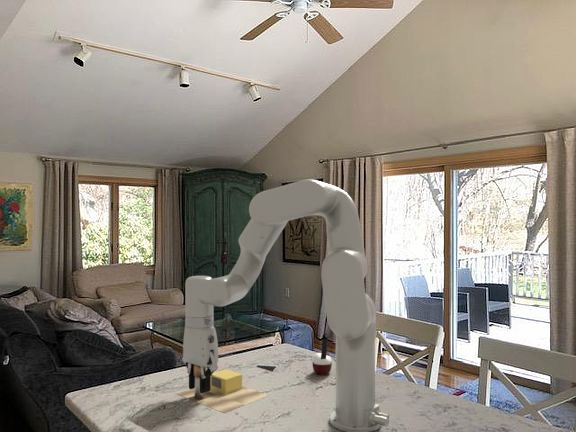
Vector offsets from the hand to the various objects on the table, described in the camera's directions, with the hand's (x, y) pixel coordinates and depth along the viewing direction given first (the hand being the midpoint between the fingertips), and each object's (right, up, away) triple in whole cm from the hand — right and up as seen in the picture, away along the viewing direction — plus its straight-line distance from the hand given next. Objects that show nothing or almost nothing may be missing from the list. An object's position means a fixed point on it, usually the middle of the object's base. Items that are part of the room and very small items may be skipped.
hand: (199, 389), depth 126 cm
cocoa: (+35, -4, +23) cm, 42 cm away
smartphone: (+16, -4, +24) cm, 29 cm away
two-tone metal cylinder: (0, -2, 0) cm, 2 cm away
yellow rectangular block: (+6, -2, +7) cm, 10 cm away
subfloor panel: (+6, -3, +2) cm, 7 cm away
